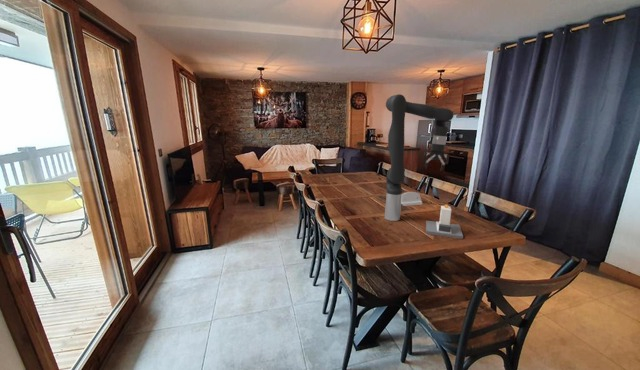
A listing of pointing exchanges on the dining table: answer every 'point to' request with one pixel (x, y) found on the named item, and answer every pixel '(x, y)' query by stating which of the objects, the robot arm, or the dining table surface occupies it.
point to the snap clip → (444, 227)
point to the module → (445, 215)
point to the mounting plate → (434, 229)
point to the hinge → (411, 199)
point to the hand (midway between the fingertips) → (433, 169)
